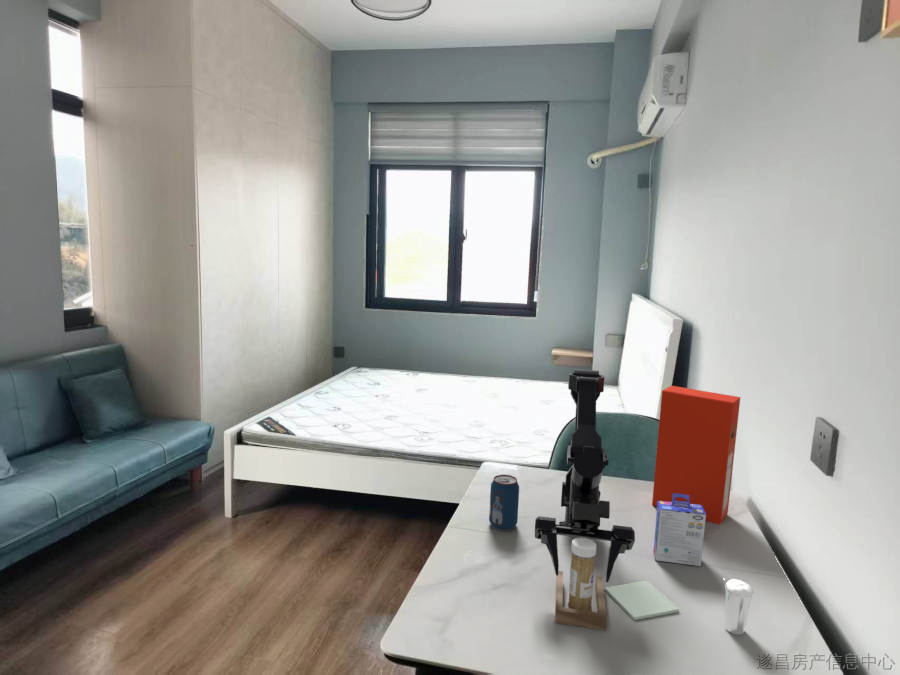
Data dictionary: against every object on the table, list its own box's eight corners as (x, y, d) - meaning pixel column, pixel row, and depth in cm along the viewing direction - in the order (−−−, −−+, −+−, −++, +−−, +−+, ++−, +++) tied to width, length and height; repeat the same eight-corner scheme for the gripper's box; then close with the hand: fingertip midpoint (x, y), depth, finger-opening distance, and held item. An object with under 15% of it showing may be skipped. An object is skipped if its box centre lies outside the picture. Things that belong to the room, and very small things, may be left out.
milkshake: (711, 621, 110) (717, 572, 108) (738, 621, 110) (744, 571, 109) (724, 637, 105) (730, 586, 104) (753, 637, 106) (759, 585, 104)
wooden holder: (556, 581, 121) (557, 570, 121) (601, 588, 120) (602, 576, 119) (554, 622, 108) (555, 610, 108) (605, 630, 106) (606, 617, 106)
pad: (604, 590, 119) (604, 587, 119) (646, 583, 122) (646, 580, 122) (634, 620, 110) (634, 617, 109) (678, 611, 113) (679, 608, 113)
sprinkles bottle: (590, 617, 110) (595, 550, 108) (565, 612, 111) (570, 545, 109) (592, 603, 114) (597, 538, 112) (568, 599, 116) (573, 534, 114)
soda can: (516, 519, 149) (518, 474, 147) (518, 532, 142) (520, 485, 140) (488, 518, 149) (490, 472, 147) (489, 531, 142) (491, 484, 140)
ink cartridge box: (697, 554, 134) (703, 494, 132) (702, 567, 129) (709, 504, 127) (651, 549, 136) (657, 489, 134) (655, 561, 131) (660, 499, 129)
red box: (719, 525, 149) (733, 402, 144) (651, 505, 160) (662, 390, 155) (727, 515, 156) (740, 396, 151) (661, 496, 166) (671, 385, 161)
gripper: (538, 477, 115) (531, 558, 106) (637, 487, 111) (640, 573, 102) (537, 499, 124) (531, 576, 115) (630, 509, 120) (631, 589, 111)
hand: (582, 578), depth 110 cm, fingers open, 9 cm apart
